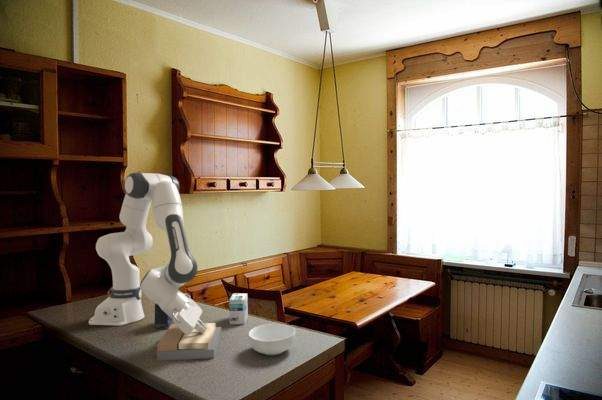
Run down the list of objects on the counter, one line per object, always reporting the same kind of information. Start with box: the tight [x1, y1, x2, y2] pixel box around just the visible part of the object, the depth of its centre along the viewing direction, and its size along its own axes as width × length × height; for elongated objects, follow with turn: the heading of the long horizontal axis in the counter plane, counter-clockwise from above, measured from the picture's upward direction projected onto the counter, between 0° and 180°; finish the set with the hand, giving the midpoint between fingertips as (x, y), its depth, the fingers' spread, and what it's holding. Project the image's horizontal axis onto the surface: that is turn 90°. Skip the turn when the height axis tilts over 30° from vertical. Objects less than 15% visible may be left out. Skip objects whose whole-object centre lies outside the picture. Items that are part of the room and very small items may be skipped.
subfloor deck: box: [156, 324, 222, 362], centre depth 147 cm, size 19×22×5 cm
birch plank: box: [179, 322, 217, 349], centre depth 147 cm, size 10×20×2 cm, turn 5°
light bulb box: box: [228, 292, 249, 325], centre depth 175 cm, size 11×7×11 cm, turn 0°
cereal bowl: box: [248, 323, 297, 356], centre depth 143 cm, size 17×17×7 cm
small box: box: [154, 303, 175, 330], centre depth 171 cm, size 11×6×10 cm, turn 168°
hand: (205, 331), depth 147 cm, fingers closed, pressing on birch plank
